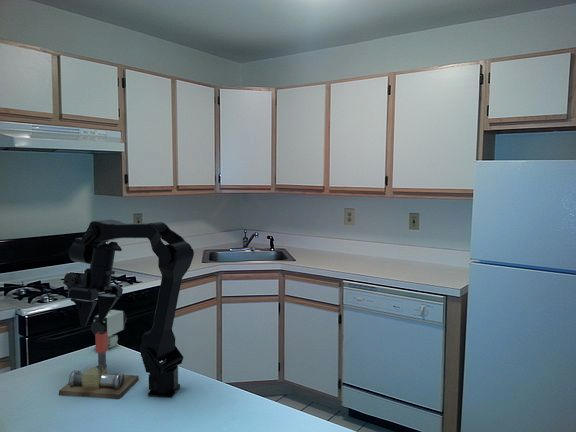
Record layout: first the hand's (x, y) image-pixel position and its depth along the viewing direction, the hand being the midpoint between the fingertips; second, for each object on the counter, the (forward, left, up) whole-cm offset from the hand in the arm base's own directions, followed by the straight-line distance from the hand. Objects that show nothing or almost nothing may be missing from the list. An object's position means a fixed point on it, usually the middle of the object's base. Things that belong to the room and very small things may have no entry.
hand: (92, 323), depth 121 cm
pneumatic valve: (+9, -25, -16) cm, 31 cm away
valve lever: (-3, +1, -12) cm, 13 cm away
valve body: (-4, +5, -15) cm, 16 cm away
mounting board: (-4, +3, -16) cm, 17 cm away
